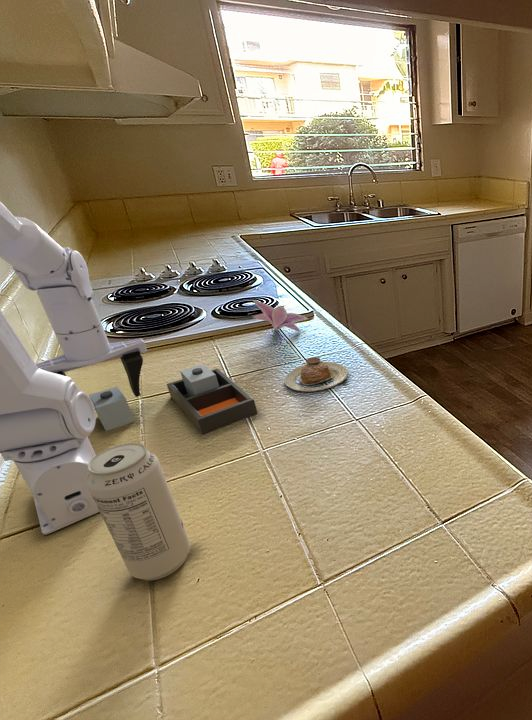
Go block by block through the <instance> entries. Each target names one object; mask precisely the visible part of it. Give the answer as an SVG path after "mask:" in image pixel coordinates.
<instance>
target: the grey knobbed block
mask: <svg viewBox="0 0 532 720" xmlns="http://www.w3.org/2000/svg"><path fill="white" fill-rule="evenodd" d="M88 396H89V397H90V399H91V401H92V403H93V405H94V409H95V414H96V416H97V417H98V419H99V421H100V423H101V425H102V426H103V428H104V431H105V432H108V431H111V430H114V429H116V428H119V427H122V426H126V425H128V424H132V423H135V418H134V415H133V413H132V411H131V408H130V406H129V405H130V404H129V403H128V400H127V398H126V396H125V395H124V394H123V392H122V391H121V389H120V388H119V387H118V386H114V387H110V388H107V389H103V390H100V391H96V392H93V393H90V394H88Z"/></svg>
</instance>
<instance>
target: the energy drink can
mask: <svg viewBox="0 0 532 720" xmlns="http://www.w3.org/2000/svg"><path fill="white" fill-rule="evenodd" d="M88 470H89V474H88V478H87V483H86V484H87V486H88V489H89V491H90V493H91V495H92V497H93V499H94V501H95V503H96V505H97V507H98V509H99V511H100V512H99V513H100V515H101V517H102V519H103V521H104V524H105V526H106V527H107V530H108V531H109V534H110V536H111V538H112V540H113V542H114V544H115V546H116V549H117V551H118V553H119V554H120V556H121V559H122V560H123V562H124V565H125V566H126V568H127V571H128V573H129V574H130V576H131V577H133V578H135V579H139V580H143V581H148V582H149V581H156V580H160V579H163V578H165V577H168V576H170V575H171V574H173V573H175V572H176V571H177V570H178V569H180V568H181V567H182V566H183V564H184V563H185V562H186V560H187V557H188V555H189V554H190V552H191V551H190V550H191V541H190V539H189V536H188V533H187V531H186V528H185V526H184V525H185V524H184V523H183V519H182V518H181V515H180V512H179V509H178V507H177V504H176V502H175V499H174V497H173V494H172V491H171V489H170V486H169V484H168V481H167V479H166V476H165V473H164V471H163V468H162V465H161V463H160V460H159V458H158V457H157V455H155V454H154V453H152V452H150V451H149V450H147V447H146V446H145V445H144V444H142V443H140V442H139V443H138V442H128V443H122V444H118V445H116V446H112V447H109V448H107V449H105V450H103V451H101V452H99V453H97V454H96V456H95V457H94V458H93V459H91V461H90V462H89V464H88Z"/></svg>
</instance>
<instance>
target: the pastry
mask: <svg viewBox="0 0 532 720" xmlns="http://www.w3.org/2000/svg"><path fill="white" fill-rule="evenodd" d="M348 375H349V370H348V368H347V367H346V366H344V365H343V364H341V363H338V362H334V361H323V360H322V359H321V358H320V357H317V356H316V357H315V356H314V357H309V358H307V359H306V360H305V364H302V365H299V366H297V367H295V368H294V369H292V370H291V371H289V372H288V373H287V374H286V376H285V377H284V380H283V382H284V384H285V386H286V387H287V388H289V389H291V390H293V391H296V392H304V393H313V392H317V391H319V392H320V391H324V390H327V389H330V388H333V387H335V386H338V385H339V384H340V385H341V384H342V383H343V382H344V381H345V380H346V379H347V377H348ZM298 377H299V378H298ZM297 379H298V380H299V382H300V383H301V384H302V385H304V386H314V385H317V384H321V383H324V382H328V381H330V380H331V379H333V380H334V381H333V382H331V383H329V384H325V385H323V386H319V387H303V386H300V385H299V384H297V381H296V380H297Z"/></svg>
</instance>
